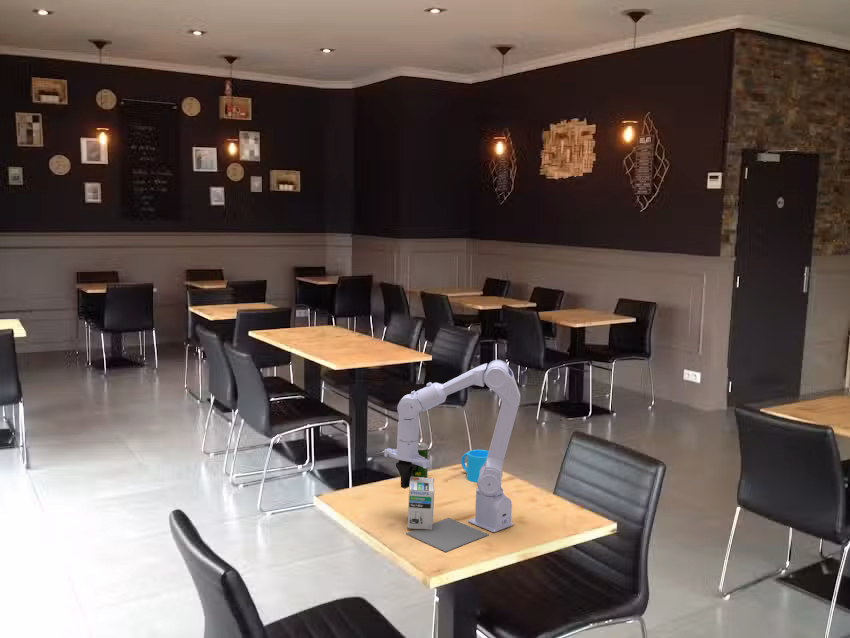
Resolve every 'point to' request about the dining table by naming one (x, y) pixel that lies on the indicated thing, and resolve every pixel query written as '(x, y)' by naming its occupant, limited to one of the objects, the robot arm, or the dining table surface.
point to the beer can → (419, 470)
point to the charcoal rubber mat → (447, 535)
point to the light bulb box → (421, 503)
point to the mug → (474, 463)
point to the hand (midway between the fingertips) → (405, 487)
